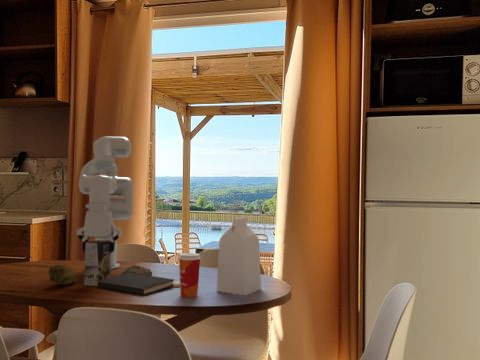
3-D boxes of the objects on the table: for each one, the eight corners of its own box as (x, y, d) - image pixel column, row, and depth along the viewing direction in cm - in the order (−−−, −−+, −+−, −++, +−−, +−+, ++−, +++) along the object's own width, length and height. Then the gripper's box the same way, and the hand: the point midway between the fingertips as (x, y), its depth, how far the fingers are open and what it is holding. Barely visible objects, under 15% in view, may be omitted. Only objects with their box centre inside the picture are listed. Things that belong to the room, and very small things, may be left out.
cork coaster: (166, 282, 163) (166, 281, 163) (187, 283, 163) (187, 281, 163) (163, 287, 155) (163, 286, 155) (184, 287, 155) (184, 286, 155)
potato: (84, 282, 162) (85, 261, 162) (56, 289, 151) (57, 267, 151) (69, 280, 166) (69, 260, 166) (40, 287, 154) (41, 265, 155)
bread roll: (155, 275, 178) (156, 264, 178) (141, 281, 166) (141, 269, 167) (129, 274, 182) (129, 262, 182) (112, 279, 170) (113, 267, 170)
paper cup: (178, 293, 147) (178, 252, 147) (200, 292, 147) (201, 252, 148) (176, 298, 139) (177, 256, 139) (200, 298, 140) (200, 256, 140)
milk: (244, 295, 144) (244, 219, 145) (216, 291, 150) (217, 218, 151) (261, 289, 154) (261, 217, 155) (234, 285, 160) (235, 216, 161)
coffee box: (99, 286, 156) (100, 242, 157) (83, 285, 157) (84, 242, 158) (111, 281, 165) (112, 240, 166) (96, 280, 166) (97, 239, 167)
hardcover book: (129, 278, 168) (129, 272, 168) (174, 285, 156) (174, 279, 156) (97, 287, 154) (97, 281, 154) (143, 295, 142) (143, 289, 142)
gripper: (73, 207, 158) (72, 253, 158) (119, 208, 158) (118, 253, 158) (80, 207, 166) (79, 250, 165) (124, 207, 166) (123, 251, 165)
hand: (98, 252), depth 162 cm, fingers open, 9 cm apart
